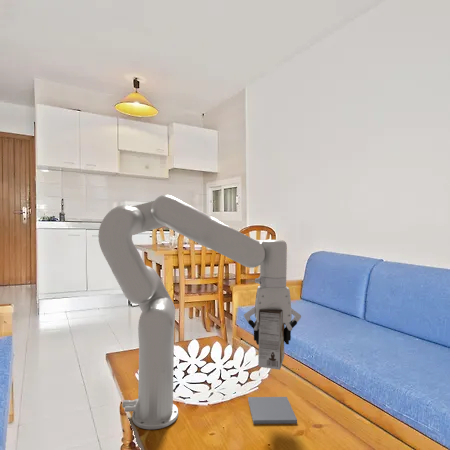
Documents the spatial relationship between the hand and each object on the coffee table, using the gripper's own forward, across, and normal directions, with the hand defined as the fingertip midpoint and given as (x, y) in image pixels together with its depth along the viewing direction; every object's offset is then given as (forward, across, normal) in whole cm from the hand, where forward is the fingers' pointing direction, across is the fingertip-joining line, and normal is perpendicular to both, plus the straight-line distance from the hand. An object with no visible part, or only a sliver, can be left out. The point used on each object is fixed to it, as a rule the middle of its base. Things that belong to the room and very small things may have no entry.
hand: (272, 342), depth 97 cm
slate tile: (+20, 0, 0) cm, 20 cm away
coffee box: (+6, 0, 0) cm, 6 cm away
